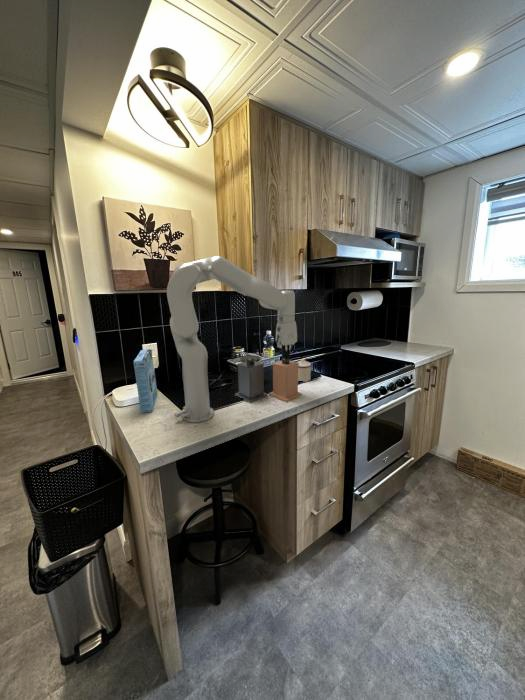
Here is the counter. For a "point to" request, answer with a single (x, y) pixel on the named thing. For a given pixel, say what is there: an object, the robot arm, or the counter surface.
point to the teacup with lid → (304, 371)
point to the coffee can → (244, 358)
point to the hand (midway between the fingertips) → (286, 358)
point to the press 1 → (251, 381)
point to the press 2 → (285, 381)
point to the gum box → (145, 380)
